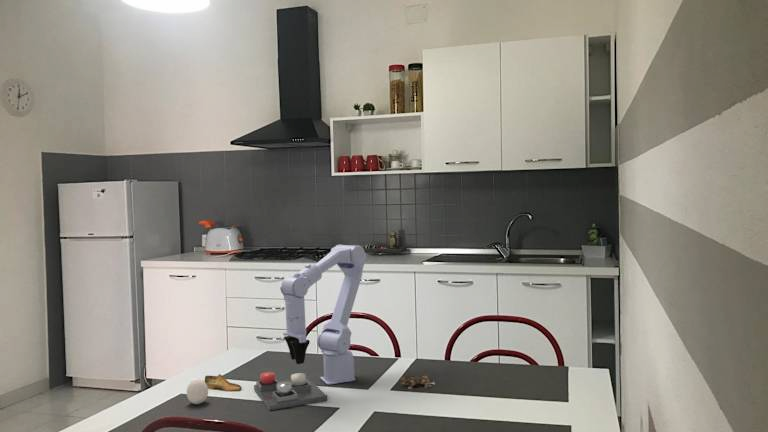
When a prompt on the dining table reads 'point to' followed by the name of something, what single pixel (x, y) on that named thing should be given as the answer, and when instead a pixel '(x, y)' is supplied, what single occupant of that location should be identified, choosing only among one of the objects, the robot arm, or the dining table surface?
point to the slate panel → (296, 398)
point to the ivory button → (298, 379)
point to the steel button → (284, 388)
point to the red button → (267, 378)
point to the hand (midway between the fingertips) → (297, 361)
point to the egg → (197, 391)
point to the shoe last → (220, 383)
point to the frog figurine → (415, 381)
